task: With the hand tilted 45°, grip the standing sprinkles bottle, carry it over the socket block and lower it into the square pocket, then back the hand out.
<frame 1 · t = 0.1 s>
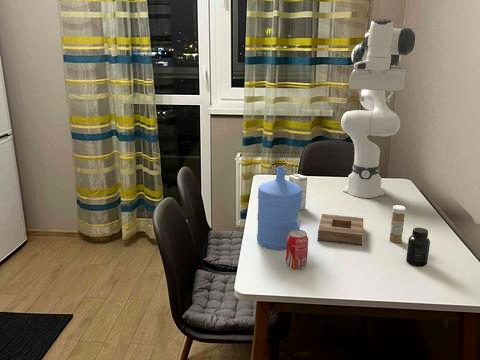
hand: (374, 101, 184), 48 cm above the table, tool pointing down, fingers open, 8 cm apart
supplement bottle: (416, 263, 163), on the table
syrup box: (296, 208, 210), on the table
socket block: (340, 234, 184), on the table
sprinkles bottle: (395, 241, 179), on the table
water jug: (278, 241, 178), on the table
soda can: (296, 266, 160), on the table
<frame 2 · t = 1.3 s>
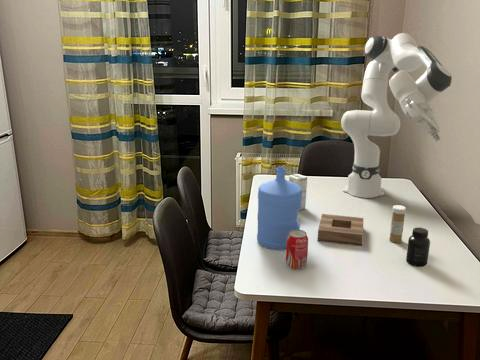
hand: (433, 136, 170), 39 cm above the table, tool tilted 50°, fingers open, 8 cm apart
nothing on the table moved.
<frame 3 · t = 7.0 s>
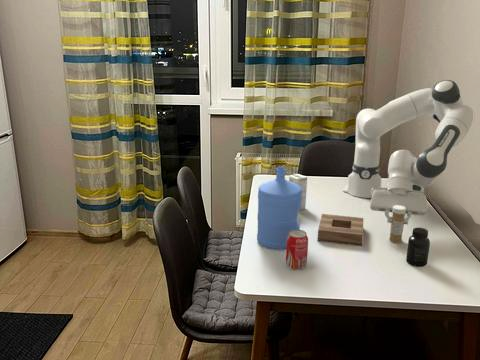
hand: (397, 223, 177), 7 cm above the table, tool tilted 45°, fingers closed on sprinkles bottle, 4 cm apart
sprinkles bottle: (395, 241, 179), on the table, touching gripper
everything else where it was.
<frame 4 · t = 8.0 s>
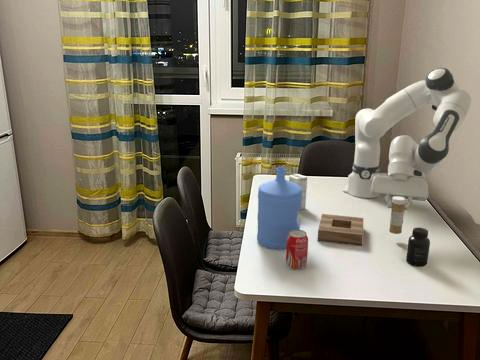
hand: (397, 208, 175), 13 cm above the table, tool tilted 45°, fingers closed on sprinkles bottle, 4 cm apart
sprinkles bottle: (395, 232, 178), point 3 cm above the table, touching gripper
everything else where it was.
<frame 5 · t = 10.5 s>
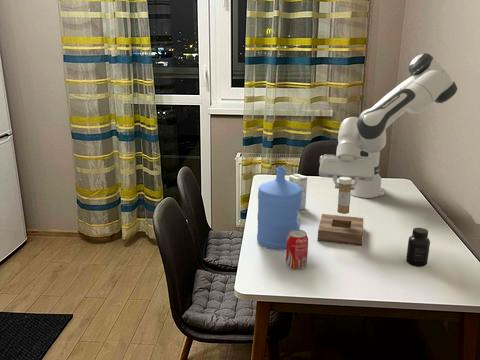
hand: (344, 188, 178), 19 cm above the table, tool tilted 45°, fingers closed on sprinkles bottle, 4 cm apart
sprinkles bottle: (343, 212, 181), point 9 cm above the table, touching gripper
everything else where it was.
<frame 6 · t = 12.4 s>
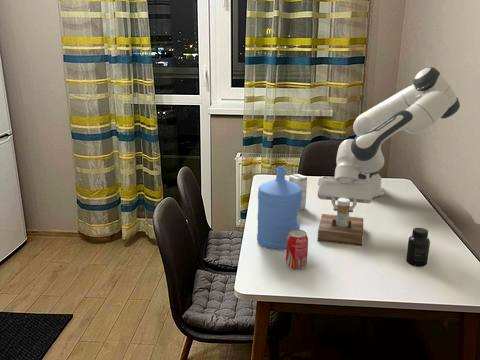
hand: (343, 210, 181), 10 cm above the table, tool tilted 45°, fingers closed on sprinkles bottle, 4 cm apart
sprinkles bottle: (341, 233, 183), point 1 cm above the table, touching gripper, socket block
everything else where it was.
when the fingers open (10 cm above the table, at t = 12.8 s): sprinkles bottle stays where it is, resting on socket block.
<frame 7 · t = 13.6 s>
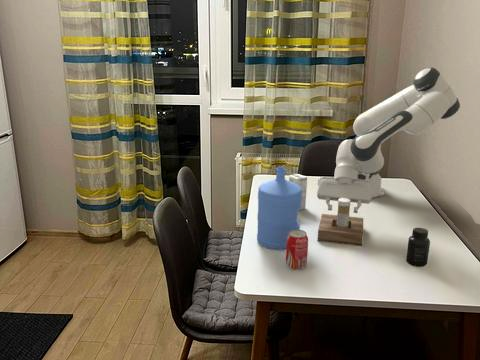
hand: (342, 211, 181), 10 cm above the table, tool tilted 45°, fingers open, 8 cm apart
sprinkles bottle: (341, 233, 183), point 1 cm above the table, touching socket block
everything else where it was.
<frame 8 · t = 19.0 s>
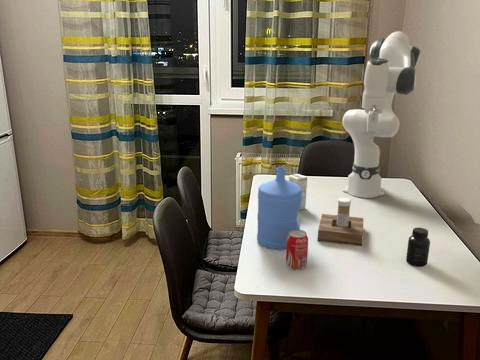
hand: (370, 139, 185), 34 cm above the table, tool pointing down, fingers open, 8 cm apart
nothing on the table moved.
at the end: sprinkles bottle 0.5 cm off-centre on the socket block, point 0.8 cm above the socket block's base; sprinkles bottle tilted 0°; the gripper is holding nothing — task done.
